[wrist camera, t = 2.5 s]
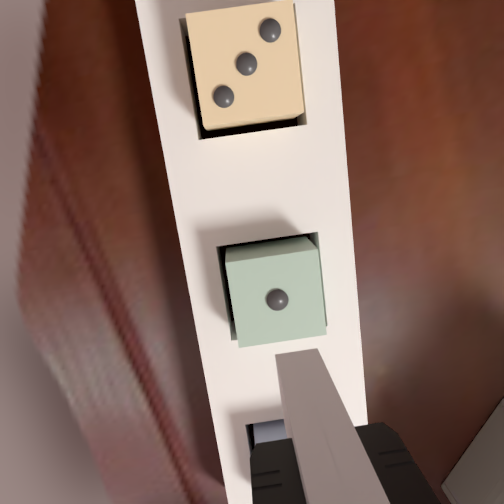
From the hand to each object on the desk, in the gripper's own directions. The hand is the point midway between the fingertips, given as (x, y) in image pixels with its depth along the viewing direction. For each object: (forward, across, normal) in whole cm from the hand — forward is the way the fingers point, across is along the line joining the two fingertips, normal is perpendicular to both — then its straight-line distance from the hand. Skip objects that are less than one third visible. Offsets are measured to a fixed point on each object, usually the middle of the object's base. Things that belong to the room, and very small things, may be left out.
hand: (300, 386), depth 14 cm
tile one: (+12, 0, 0) cm, 12 cm away
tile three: (+12, 0, +12) cm, 17 cm away
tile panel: (+13, 0, 0) cm, 13 cm away
